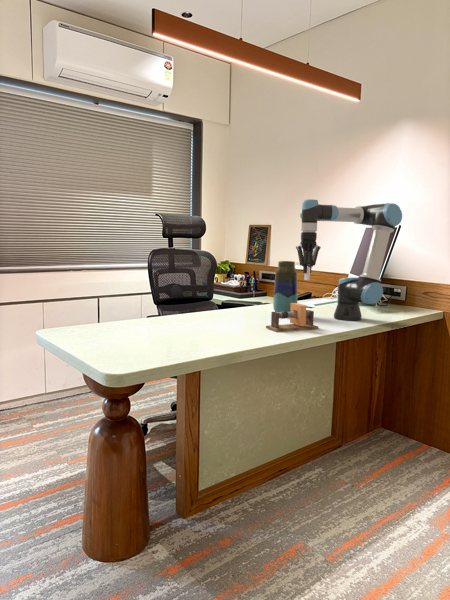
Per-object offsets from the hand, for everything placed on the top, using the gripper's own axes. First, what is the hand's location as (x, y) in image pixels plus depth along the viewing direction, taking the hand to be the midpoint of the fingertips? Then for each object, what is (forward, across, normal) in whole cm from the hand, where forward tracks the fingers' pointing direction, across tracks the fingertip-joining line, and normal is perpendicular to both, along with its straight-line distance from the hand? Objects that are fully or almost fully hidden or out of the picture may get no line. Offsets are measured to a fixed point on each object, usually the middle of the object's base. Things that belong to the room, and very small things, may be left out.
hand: (306, 279), depth 228 cm
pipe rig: (+24, +7, 0) cm, 25 cm away
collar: (+22, +4, 0) cm, 22 cm away
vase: (+24, -9, -36) cm, 44 cm away
